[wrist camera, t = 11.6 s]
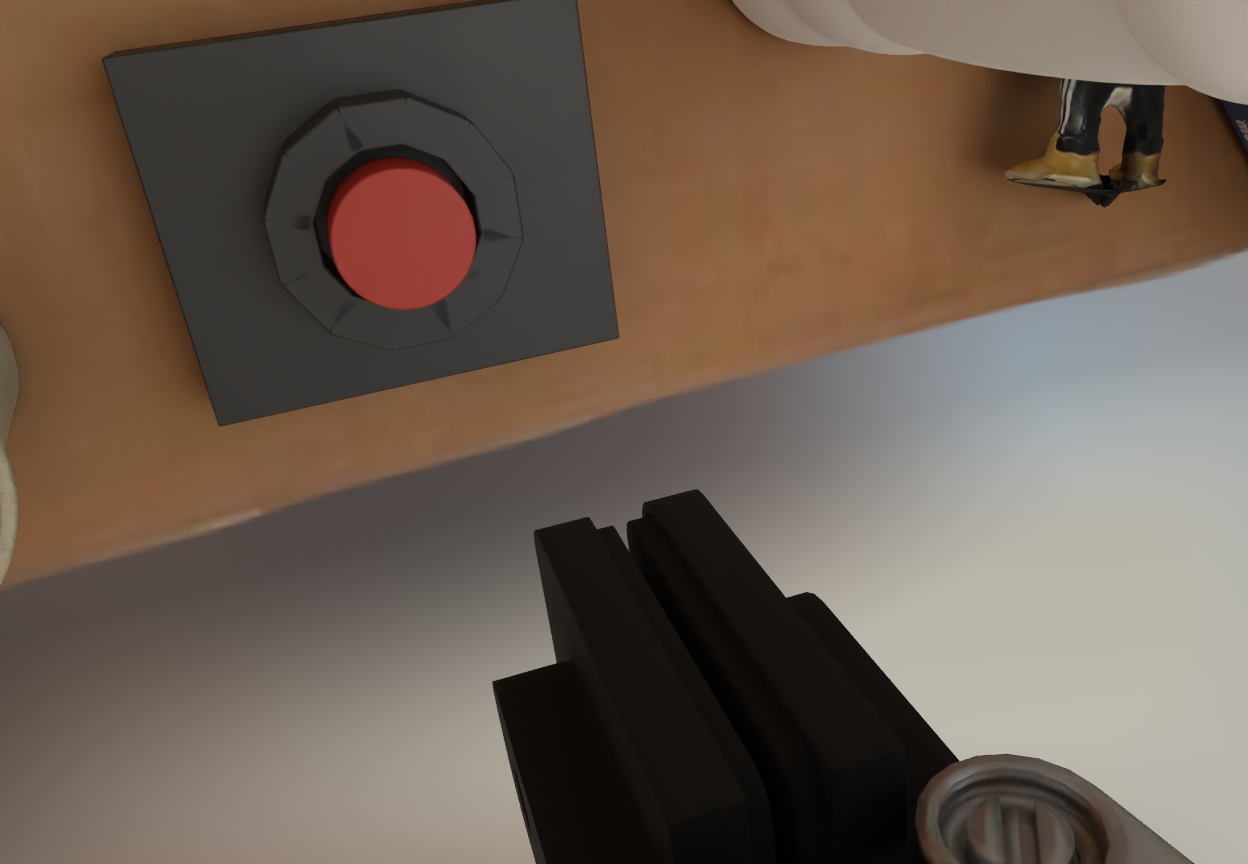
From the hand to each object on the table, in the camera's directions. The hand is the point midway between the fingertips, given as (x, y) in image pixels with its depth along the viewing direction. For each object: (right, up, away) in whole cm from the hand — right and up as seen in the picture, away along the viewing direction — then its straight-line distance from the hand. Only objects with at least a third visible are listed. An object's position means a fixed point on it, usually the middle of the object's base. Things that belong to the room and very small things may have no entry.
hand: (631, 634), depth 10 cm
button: (-6, +8, +17) cm, 20 cm away
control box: (-7, +9, +20) cm, 23 cm away
